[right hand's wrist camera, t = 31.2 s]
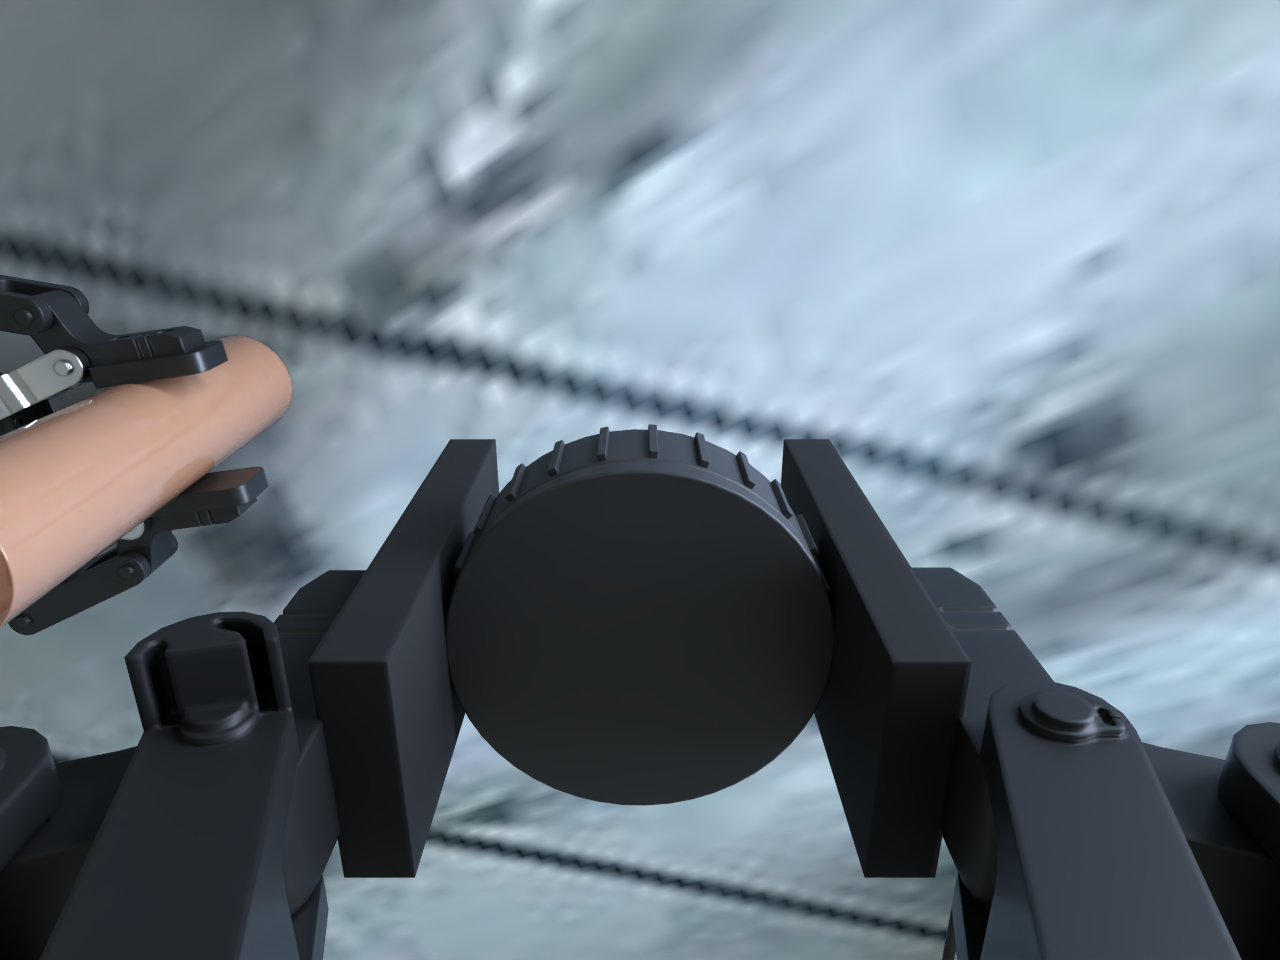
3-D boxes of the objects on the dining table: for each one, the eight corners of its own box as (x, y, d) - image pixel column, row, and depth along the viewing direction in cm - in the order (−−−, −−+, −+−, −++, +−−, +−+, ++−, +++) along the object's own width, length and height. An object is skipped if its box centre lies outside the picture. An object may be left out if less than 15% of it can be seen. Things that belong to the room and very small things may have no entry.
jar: (293, 345, 35) (-37, 530, 18) (290, 436, 37) (-18, 689, 20) (193, 327, 35) (-238, 499, 18) (194, 420, 37) (-202, 661, 19)
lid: (387, 570, 12) (352, 628, 10) (667, 344, 11) (671, 376, 9) (617, 789, 13) (614, 868, 12) (886, 612, 12) (920, 675, 11)
